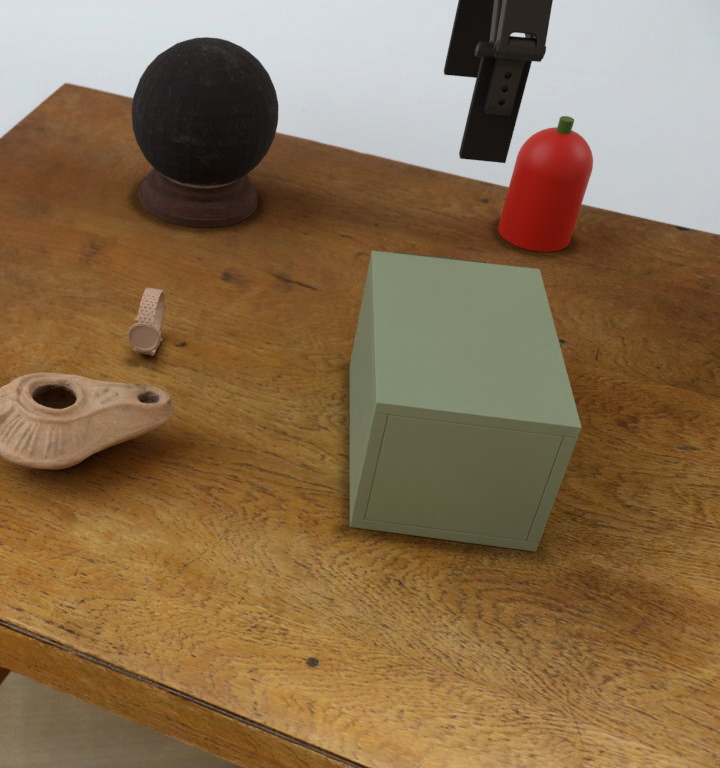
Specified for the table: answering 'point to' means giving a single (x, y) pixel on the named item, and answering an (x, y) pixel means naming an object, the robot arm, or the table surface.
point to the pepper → (547, 189)
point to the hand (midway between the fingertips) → (471, 114)
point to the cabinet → (457, 402)
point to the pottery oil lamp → (74, 417)
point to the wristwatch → (148, 322)
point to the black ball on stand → (203, 131)
